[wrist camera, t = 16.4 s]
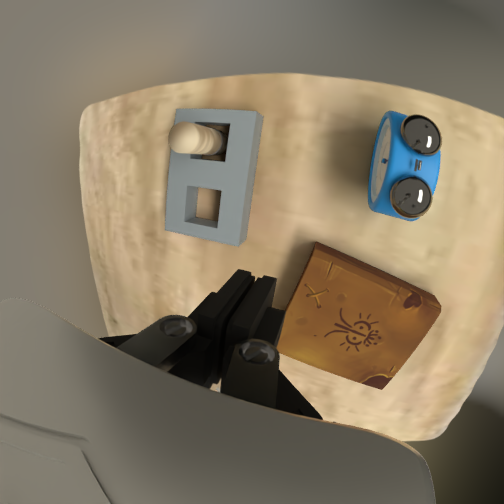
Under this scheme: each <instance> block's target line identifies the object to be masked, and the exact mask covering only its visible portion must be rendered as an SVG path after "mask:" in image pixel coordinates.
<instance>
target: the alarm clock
mask: <svg viewBox="0 0 504 504" xmlns="http://www.w3.org/2000/svg"><path fill="white" fill-rule="evenodd" d="M441 145H442V136H441V133H440V130H439V128H438V127H437V125H436V124H435V123H434V122H433V121H432V120H431V119H429V118H427V117H426V116H423V115H419V114H414V115H409V116H407V115H404V114H401V113H398V112H394V111H388V112H386V113H385V115H384V116H383V118H382V120H381V123H380V126H379V129H378V133H377V137H376V141H375V145H374V150H373V155H372V161H371V167H370V175H369V184H368V204H369V207H370V209H371V210H372V211H374V212H378V213H382V214H385V215H389V216H393V217H396V218H400V219H404V220H407V221H415V220H417V219H418V218H420V217H421V216H423V215H424V214H425V213H426V212H427V211H428V210H429V208H430V207H431V204H432V199H433V197H432V196H433V194H434V191H435V188H436V184H437V180H438V175H439V169H440V148H441Z"/></svg>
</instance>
